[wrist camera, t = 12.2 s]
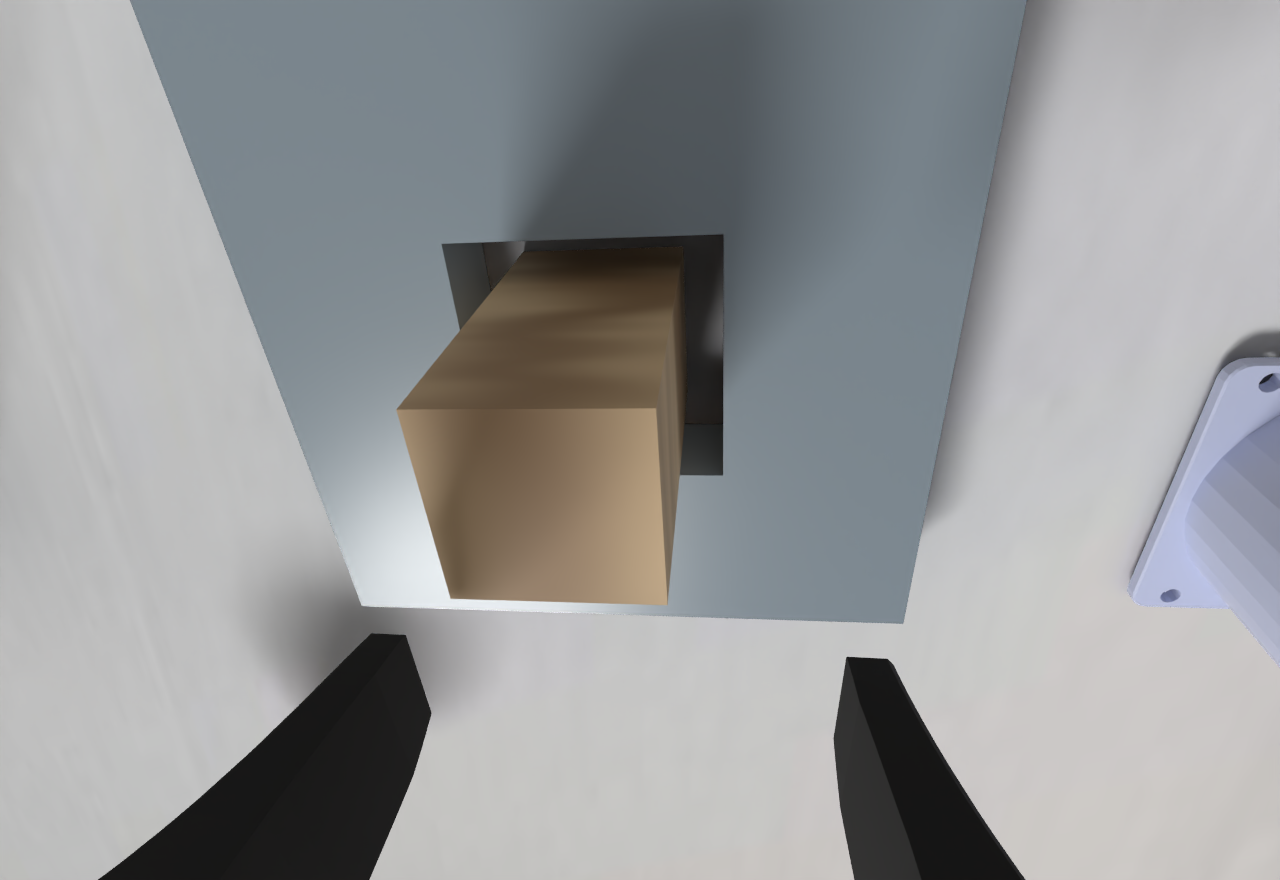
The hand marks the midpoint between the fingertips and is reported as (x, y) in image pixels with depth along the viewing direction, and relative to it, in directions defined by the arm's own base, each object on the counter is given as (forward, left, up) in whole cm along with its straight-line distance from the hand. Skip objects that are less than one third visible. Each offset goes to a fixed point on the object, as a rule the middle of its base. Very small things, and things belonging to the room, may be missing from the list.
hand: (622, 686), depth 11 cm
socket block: (+1, -3, -9) cm, 10 cm away
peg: (+1, -3, -9) cm, 10 cm away
